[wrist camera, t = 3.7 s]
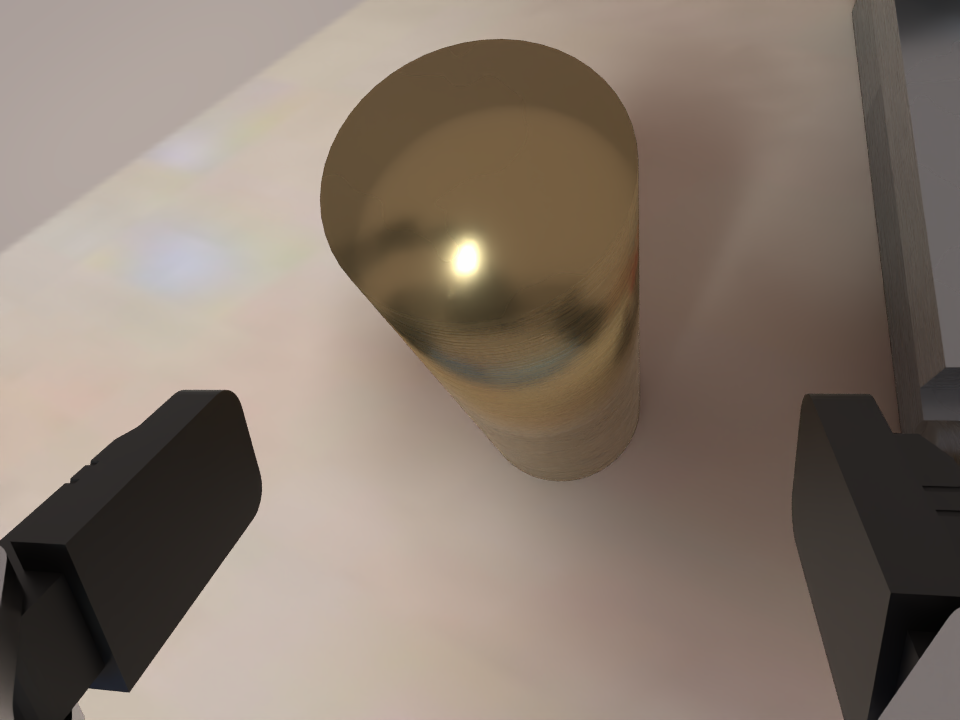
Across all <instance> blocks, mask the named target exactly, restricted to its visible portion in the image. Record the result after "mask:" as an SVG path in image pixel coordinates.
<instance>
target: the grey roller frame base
mask: <svg viewBox="0 0 960 720" xmlns="http://www.w3.org/2000/svg"><path fill="white" fill-rule="evenodd" d="M852 17H853V26H854V34H855V43H856V51H857V60H858V68H859V77H860V86H861V94H862V103H863V111H864V120H865V128H866V137H867V145H868V154H869V162H870V171H871V179H872V188H873V197H874V205H875V214H876V222H877V231H878V239H879V248H880V256H881V265H882V273H883V282H884V290H885V299H886V307H887V316H888V325H889V333H890V342H891V350H892V359H893V367H894V376H895V384H896V393H897V401H898V410H899V418H900V427H901V434H920V435H921V436H923V437H924V438H925V439H927V440H928V441H930V442H931V443H932V444H934V445H935V446H937V447H938V448H940V449H941V450H942V451H944V452H945V453H947V454H948V455H949V456H951V457H952V458H954V460H955V461H956V463H957V465H958V466H959V468H960V0H856V2H855V5H854V8H853V11H852Z"/></svg>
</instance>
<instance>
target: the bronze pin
mask: <svg viewBox="0 0 960 720" xmlns="http://www.w3.org/2000/svg"><path fill="white" fill-rule="evenodd" d="M320 206H321V218H322V222H323V227H324V232H325V235H326V238H327V240H328V243H329V246H330V248H331V251H332V253H333V254H334V256H335V258H336V259H337V261H338V263H339V265H340V266H341V268H342V269H343V270H344V271H345V273H346V274H347V275H348V276H349V278H350V279H351V280H352V281H353V282H354V284H355V285H356V286H357V287H358V288H359V289H360V291H361V292H362V293H363V294H364V295H365V296H366V297H367V299H368V300H369V301H370V302H371V303H372V304H373V306H374V307H375V308H376V309H377V310H378V311H379V312H380V314H381V315H382V316H383V317H384V318H385V319H386V321H387V322H388V323H389V324H390V325H391V326H392V327H393V329H394V330H395V331H396V332H397V333H398V334H399V336H400V337H401V338H402V339H403V340H404V341H405V342H406V344H407V345H408V346H409V347H410V348H411V349H412V351H413V352H414V353H415V354H416V355H417V356H418V358H419V359H420V360H421V361H422V362H423V363H424V364H425V366H426V367H427V368H428V369H429V370H430V371H431V373H432V374H433V375H434V376H435V377H436V378H437V379H438V381H439V382H440V383H441V384H442V385H443V386H444V388H445V389H446V390H447V391H448V392H449V393H450V394H451V396H452V397H453V398H454V399H455V400H456V401H457V403H458V404H459V405H460V406H461V407H462V408H463V409H464V411H465V412H466V413H467V414H468V415H469V416H470V418H471V419H472V420H473V421H474V422H475V423H476V424H477V426H478V427H479V428H480V429H481V430H482V431H483V433H484V434H485V435H486V436H487V437H488V438H489V440H490V441H491V442H492V443H493V444H494V445H495V446H496V448H497V449H498V450H499V451H500V452H501V453H502V455H503V456H504V457H505V458H506V459H507V460H508V461H509V462H510V463H512V464H513V465H514V466H516V467H517V468H518V469H520V470H522V471H524V472H525V473H527V474H529V475H532V476H535V477H537V478H541V479H546V480H552V481H570V480H576V479H581V478H584V477H588V476H590V475H593V474H595V473H597V472H599V471H601V470H602V469H604V468H605V467H607V466H608V465H610V464H611V463H612V462H613V461H614V460H616V459H617V458H618V457H619V455H620V454H621V453H622V452H623V451H624V450H625V448H626V447H627V445H628V444H629V442H630V440H631V438H632V436H633V434H634V431H635V429H636V426H637V422H638V417H639V406H640V388H639V198H638V153H637V143H636V138H635V134H634V130H633V126H632V124H631V121H630V119H629V116H628V114H627V112H626V109H625V107H624V106H623V104H622V103H621V101H620V99H619V98H618V96H617V95H616V93H615V92H614V91H613V90H612V88H611V87H610V86H609V85H608V84H607V83H606V81H605V80H604V79H603V78H602V77H600V76H599V75H598V74H597V73H596V72H595V71H594V70H592V69H591V68H590V67H589V66H587V65H585V64H584V63H582V62H581V61H579V60H578V59H576V58H574V57H572V56H570V55H568V54H566V53H564V52H562V51H559V50H557V49H554V48H551V47H548V46H545V45H541V44H537V43H532V42H527V41H521V40H507V39H493V40H479V41H472V42H465V43H460V44H457V45H453V46H449V47H445V48H442V49H439V50H437V51H434V52H431V53H429V54H426V55H424V56H422V57H420V58H418V59H416V60H414V61H412V62H410V63H408V64H406V65H404V66H403V67H401V68H400V69H398V70H397V71H395V72H393V73H392V74H390V75H389V76H388V77H387V78H385V79H384V80H383V81H381V82H380V83H379V84H378V85H376V86H375V87H374V88H373V89H372V90H371V91H370V92H369V93H368V94H367V95H366V96H365V97H364V98H363V99H362V100H361V101H360V102H359V103H358V105H357V106H356V107H355V108H354V110H353V111H352V112H351V113H350V114H349V116H348V118H347V119H346V121H345V122H344V124H343V125H342V127H341V128H340V130H339V132H338V134H337V136H336V138H335V140H334V142H333V144H332V146H331V148H330V151H329V154H328V157H327V160H326V163H325V167H324V171H323V176H322V181H321V193H320Z"/></svg>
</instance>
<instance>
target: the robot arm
mask: <svg viewBox="0 0 960 720" xmlns="http://www.w3.org/2000/svg"><path fill="white" fill-rule="evenodd" d="M261 495H262V481H261V475H260V471H259V467H258V464H257V460H256V456H255V453H254V449H253V446H252V442H251V438H250V435H249V431H248V427H247V424H246V420H245V416H244V413H243V409H242V406H241V403H240V401H239V399H238V397H237V396H236V395H235V394H234V393H233V392H231V391H229V390H181V391H178V392H177V393H175V394H174V395H173V396H172V397H171V398H170V399H168V400H167V401H166V402H165V403H164V404H163V405H162V406H161V407H160V408H158V409H157V410H156V411H155V412H154V413H153V414H152V415H151V416H150V417H148V418H147V419H146V420H145V421H144V422H143V423H142V424H141V425H139V426H138V427H137V428H135V429H133V430H131V431H129V432H128V433H126V434H124V435H122V436H120V437H119V438H117V439H115V440H114V441H113V442H111V443H110V444H109V445H108V446H107V447H106V448H105V449H104V450H102V451H101V452H100V453H99V454H98V455H97V456H96V457H94V458H93V459H92V460H91V464H90V465H85V466H84V467H83V468H82V469H81V470H80V471H79V472H77V473H76V474H75V475H74V476H73V477H72V478H71V481H70V483H65V484H64V485H63V486H62V487H60V488H59V489H58V490H57V491H56V492H55V493H54V494H52V495H51V496H50V497H49V498H48V499H47V500H46V501H44V502H43V503H42V504H41V505H40V506H39V507H38V508H37V509H35V510H34V511H33V512H32V513H31V514H30V515H29V516H27V517H26V518H25V519H24V520H23V521H22V522H21V523H20V524H18V525H17V526H16V527H15V528H14V529H13V530H12V531H10V532H9V533H8V534H7V535H6V536H5V537H4V538H2V539H1V540H0V720H85V716H84V714H83V712H82V710H81V708H80V706H79V704H78V701H79V700H80V698H81V697H82V696H83V695H84V693H85V692H86V691H87V689H88V688H91V689H100V690H110V691H120V692H130V691H131V689H132V688H133V687H134V685H135V684H136V682H137V681H138V680H139V678H140V677H141V675H142V674H143V673H144V671H145V670H146V668H147V667H148V666H149V664H150V663H151V661H152V660H153V659H154V657H155V656H156V654H157V653H158V652H159V650H160V649H161V647H162V646H163V645H164V643H165V642H166V640H167V639H168V638H169V636H170V635H171V633H172V632H173V631H174V629H175V628H176V626H177V625H178V624H179V622H180V621H181V619H182V618H183V617H184V615H185V614H186V612H187V611H188V610H189V608H190V607H191V605H192V604H193V603H194V601H195V600H196V598H197V597H198V596H199V594H200V593H201V591H202V590H203V589H204V587H205V586H206V584H207V583H208V582H209V580H210V579H211V577H212V576H213V575H214V573H215V572H216V570H217V569H218V568H219V566H220V565H221V563H222V562H223V561H224V559H225V558H226V556H227V555H228V554H229V552H230V551H231V549H232V548H233V547H234V545H235V544H236V542H237V541H238V540H239V538H240V537H241V535H242V534H243V533H244V531H245V530H246V528H247V527H248V526H249V524H250V523H251V521H252V520H253V519H254V517H255V515H256V513H257V511H258V508H259V505H260V501H261ZM792 522H793V531H794V537H795V542H796V546H797V550H798V553H799V557H800V561H801V564H802V568H803V571H804V575H805V579H806V582H807V586H808V590H809V593H810V597H811V601H812V604H813V608H814V612H815V615H816V619H817V622H818V626H819V630H820V633H821V637H822V641H823V644H824V648H825V652H826V655H827V659H828V663H829V666H830V670H831V673H832V677H833V681H834V684H835V688H836V692H837V695H838V699H839V703H840V706H841V710H842V714H843V717H844V720H960V468H959V466H958V465H957V463H956V461H955V460H954V458H952V457H951V456H949V455H948V454H947V453H945V452H944V451H942V450H941V449H940V448H938V447H937V446H935V445H934V444H932V443H931V442H930V441H928V440H927V439H925V438H924V437H923V436H921V435H920V434H898V433H892V431H891V429H890V427H889V425H888V423H887V422H886V420H885V418H884V416H883V414H882V413H881V411H880V409H879V407H878V405H877V404H876V402H875V400H874V398H873V397H872V396H871V395H870V394H806V395H805V396H804V398H803V402H802V406H801V413H800V422H799V432H798V442H797V452H796V462H795V471H794V481H793V491H792Z"/></svg>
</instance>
